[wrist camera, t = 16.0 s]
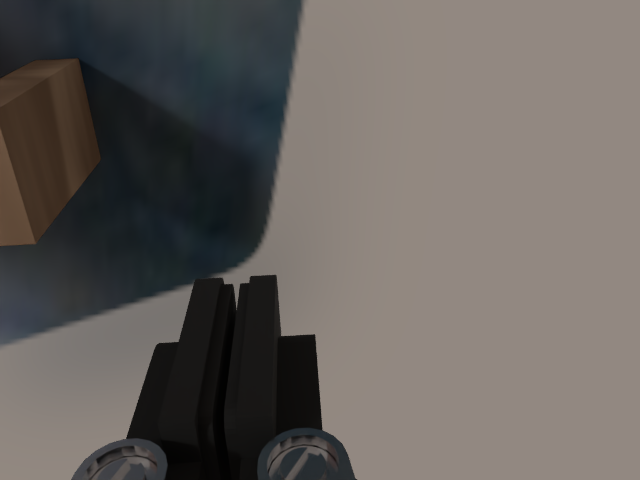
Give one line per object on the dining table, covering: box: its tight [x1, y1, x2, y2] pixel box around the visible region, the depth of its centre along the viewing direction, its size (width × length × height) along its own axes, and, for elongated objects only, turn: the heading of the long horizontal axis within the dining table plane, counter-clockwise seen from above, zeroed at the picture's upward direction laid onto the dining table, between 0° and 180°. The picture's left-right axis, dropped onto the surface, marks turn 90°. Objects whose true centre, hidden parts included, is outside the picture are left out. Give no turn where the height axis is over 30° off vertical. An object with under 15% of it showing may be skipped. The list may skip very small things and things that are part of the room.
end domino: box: [0, 58, 101, 246], centre depth 24 cm, size 2×5×9 cm, turn 2°
